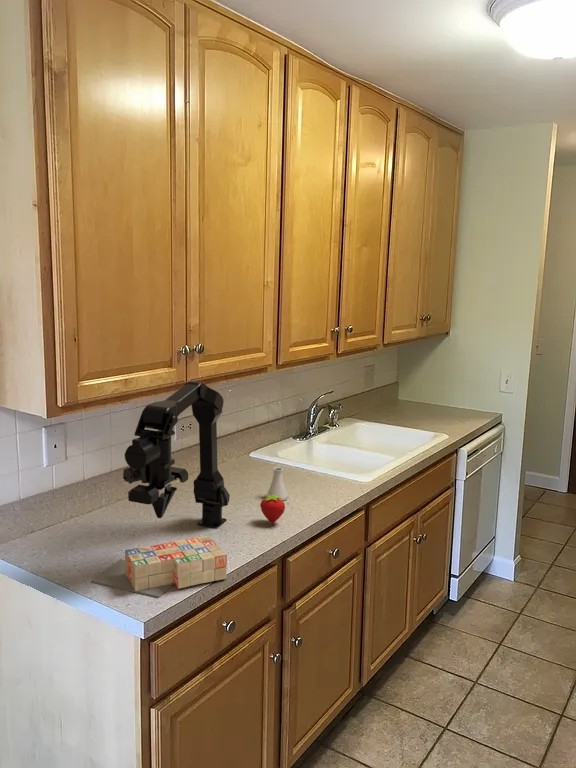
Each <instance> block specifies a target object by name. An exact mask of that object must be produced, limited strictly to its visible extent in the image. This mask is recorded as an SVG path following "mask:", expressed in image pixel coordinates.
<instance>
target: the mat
mask: <svg viewBox="0 0 576 768" xmlns="http://www.w3.org/2000/svg"><path fill="white" fill-rule="evenodd" d="M90 582H91V583H94V584H97V585H98V584H99V585H102V586H107V587H111V588H115V589H119V590H123V591H127V592H133V593H136V594H140V595H143V596H144V595H145V596H149V597H153V598H158V599H159V598H160V597H161V596H162V595H164V594H165V593H166V592H167V591H168V590H169V589H170V588H171V587H173V586H174V585H175V584H174V583H172V584H168V585H164V586H159V587H154V588H148V589H144V590H139V591H135V590H134V588H133V586H132V584H131V583H130V581H129V579H128V577H127V576H126V574H125V559H121V558H120V559H119V560H118V561H116V562H114V563H113V564H112V565H111V566H109V567H108V568H106V569H105V570H103V571H102V572H101V573H100V574H97V575H96V576H95V577H94V578H93V579H91V580H90Z"/></svg>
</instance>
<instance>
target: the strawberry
mask: <svg viewBox="0 0 576 768" xmlns="http://www.w3.org/2000/svg"><path fill="white" fill-rule="evenodd" d="M264 496H265V498H263V499H262V500H261V502H260V505H259V506H260V510H261V513H262V514H263V515H264V517H265V518H266V519H267V521H268V522H269V523H270V524H275V523H276V522H277V521H278V520H279V519H280V518H281V516H282V515H283V514H284V512H285V509H286V505H285V501H282V500H280V499H281V498H278V497H280V496H275V495H273V496H272V492H271V496H267V494H266V495H264ZM266 496H267V497H269V498H266Z"/></svg>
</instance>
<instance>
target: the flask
mask: <svg viewBox="0 0 576 768" xmlns="http://www.w3.org/2000/svg"><path fill="white" fill-rule="evenodd" d="M272 471H273V476H272V481H271V484H270V486H269V489H268V491H267V493H266V495H267V496H271V492H272V496H273V495H275V496H280V497H278V498H281V499H280V500H282V501H283V502H285V501H287V500H288V498H289V494H288V491H287V489H286V485H285V483H284V479H283V478H284V477H283V471H284V467H283V468H282V467H277V466H275V467H273V468H272ZM267 496H265V498H269V497H267Z"/></svg>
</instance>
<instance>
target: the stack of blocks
mask: <svg viewBox="0 0 576 768" xmlns="http://www.w3.org/2000/svg"><path fill="white" fill-rule="evenodd" d="M124 560H125V574H126V576H127V577H128V579H129V581H130V583H131V584H132V586H133V588H134V590H135V591H139V590H144V589H148V588H154V587H159V586H164V585H168V584H172V583H174V585H175V586H176V588H177V589H178V590H179V589H183V588H188V587H191V586H196V585H200V584H205V583H210V582H214V581H221V580H226V579H227V574H228V573H227V572H228V570H227V569H228V567H227V565H228V564H227V563H228V554H227V553H226V551H224V550H223V549H222V548H221V546H219V545H218V544H217V543H216V542H215V541H213V539H212V538H211V537H210V536H208V535H205V536H199V537H192V538H191V537H190V538H186V539H179V540H175V541H170V542H165V543H160V544H155V545H145V546H141V547H136V548H130V549H129V548H128V549H125V550H124Z"/></svg>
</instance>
